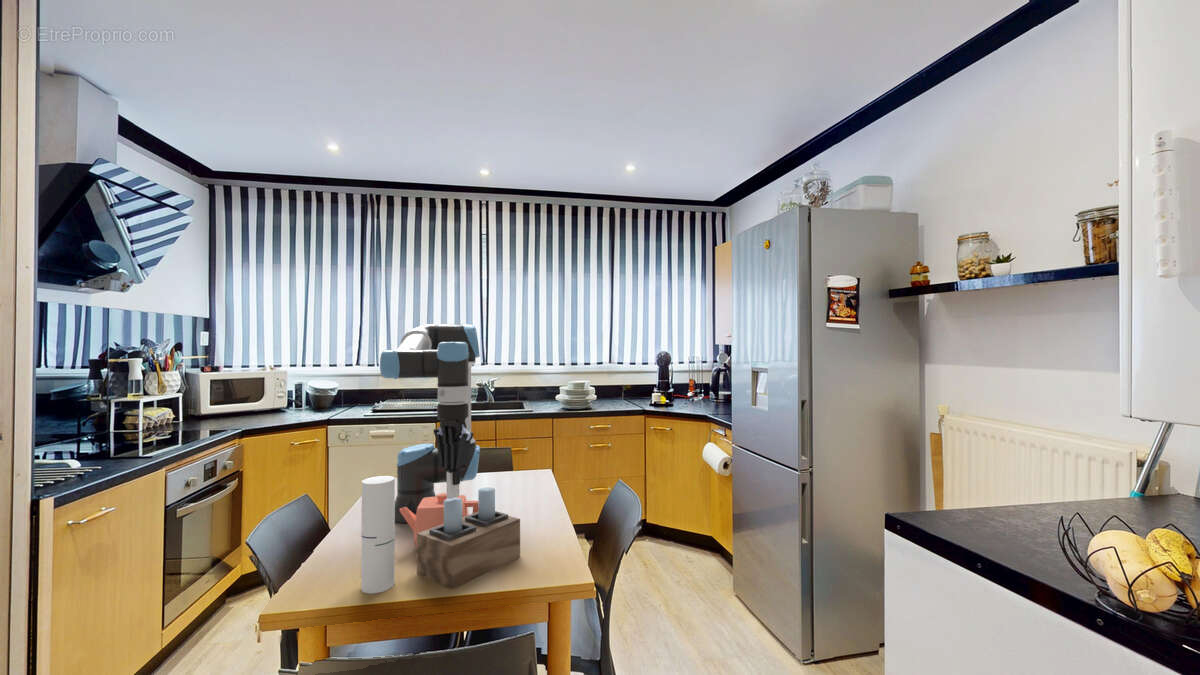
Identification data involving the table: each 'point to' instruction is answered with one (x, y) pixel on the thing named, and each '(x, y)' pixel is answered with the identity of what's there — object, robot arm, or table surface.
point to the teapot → (432, 513)
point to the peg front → (452, 515)
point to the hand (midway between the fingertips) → (452, 496)
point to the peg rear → (486, 504)
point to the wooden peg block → (467, 549)
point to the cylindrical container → (378, 534)
